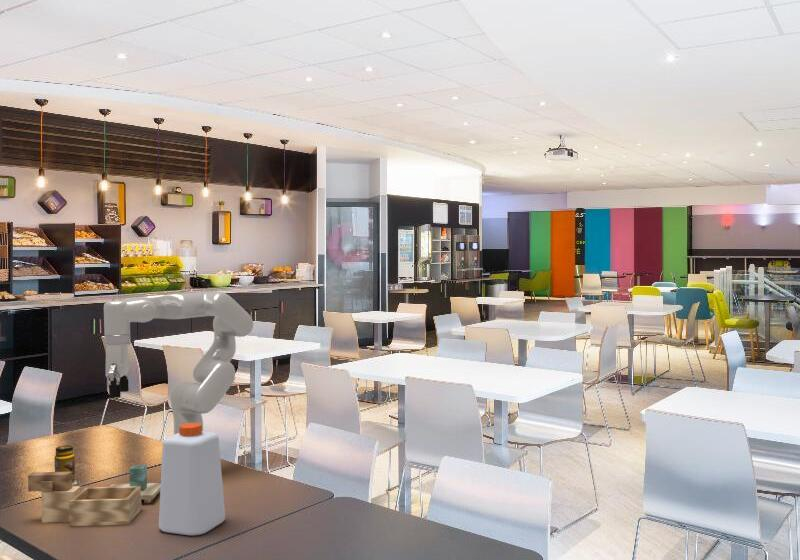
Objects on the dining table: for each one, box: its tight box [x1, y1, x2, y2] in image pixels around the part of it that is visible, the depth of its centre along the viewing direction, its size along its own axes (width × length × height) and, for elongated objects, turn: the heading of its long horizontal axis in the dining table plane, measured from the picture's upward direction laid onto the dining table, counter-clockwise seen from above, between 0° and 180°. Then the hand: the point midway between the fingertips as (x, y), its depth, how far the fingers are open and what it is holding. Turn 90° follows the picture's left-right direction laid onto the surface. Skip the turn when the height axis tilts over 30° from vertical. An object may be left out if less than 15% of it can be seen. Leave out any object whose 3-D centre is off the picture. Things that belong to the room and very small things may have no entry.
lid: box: [108, 464, 161, 504], centre depth 227 cm, size 16×12×10 cm
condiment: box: [54, 445, 78, 486], centre depth 243 cm, size 7×8×12 cm
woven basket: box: [40, 481, 142, 527], centre depth 210 cm, size 25×12×12 cm, turn 93°
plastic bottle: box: [158, 423, 226, 537], centre depth 203 cm, size 15×15×28 cm
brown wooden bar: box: [27, 471, 73, 492], centre depth 209 cm, size 11×3×4 cm, turn 93°
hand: (119, 394), depth 231 cm, fingers open, 9 cm apart
